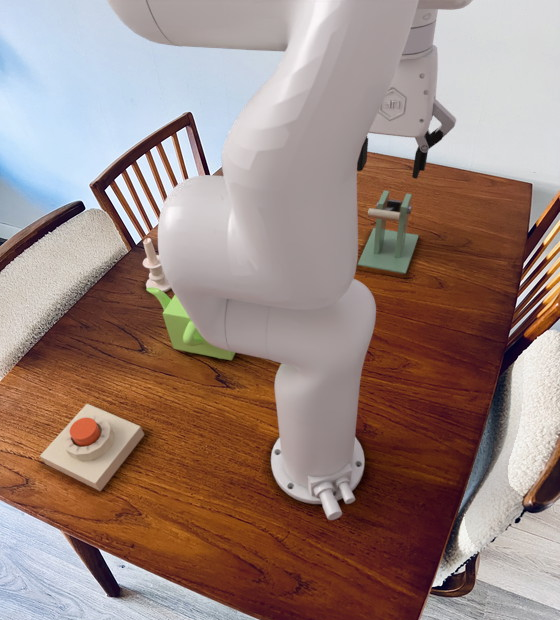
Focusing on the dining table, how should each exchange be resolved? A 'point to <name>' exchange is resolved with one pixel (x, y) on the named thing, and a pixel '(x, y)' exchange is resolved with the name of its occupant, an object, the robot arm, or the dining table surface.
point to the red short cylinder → (85, 431)
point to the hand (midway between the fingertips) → (388, 169)
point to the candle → (154, 268)
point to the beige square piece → (94, 448)
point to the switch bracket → (390, 241)
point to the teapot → (185, 329)
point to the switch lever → (387, 211)
